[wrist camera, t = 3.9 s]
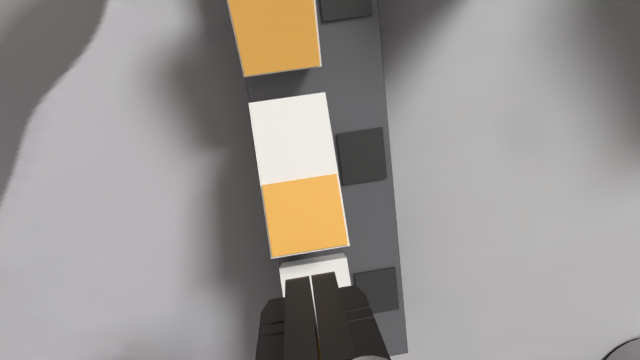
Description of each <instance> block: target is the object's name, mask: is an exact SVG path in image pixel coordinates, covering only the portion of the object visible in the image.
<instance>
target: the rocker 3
mask: <svg viewBox="0 0 640 360" xmlns="http://www.w3.org/2000/svg"><path fill="white" fill-rule="evenodd" d="M333 271H334V272H335V275H336V279H337V283H338V287H339V288H340V287H346V286H351V282H350V275H349V269H348V263H347V257H346V256H345V255H344V253H338V254H332V255H326V256H320V257H314V258H308V259H302V260H296V261H290V262H284V263H281V265H280V268H279V272H280V278H281V285H282V292H283V297H285V280H287V279H293V278H299V277H305V276H309V278H310V284H311V290H312V296H313V302H314V295H313V287H312V279H311V275H316V274H322V273H328V272H333ZM314 309H315V303H314ZM315 315H316V311H315ZM316 321H317V319H316Z"/></svg>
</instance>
